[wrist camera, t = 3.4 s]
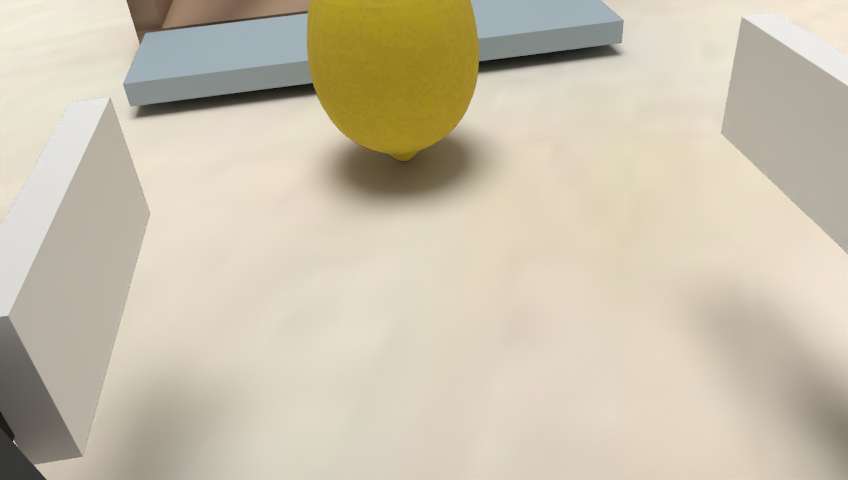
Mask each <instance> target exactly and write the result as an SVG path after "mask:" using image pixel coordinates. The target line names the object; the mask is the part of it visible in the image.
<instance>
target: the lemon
mask: <svg viewBox="0 0 848 480" xmlns="http://www.w3.org/2000/svg"><path fill="white" fill-rule="evenodd" d="M307 54H308V63H309V69H310V74H311V78H312V82H313V85H314V88H315V91H316V93H317V96H318V98H319V100H320V103H321V105H322V107H323V108H324V110H325V111H326V113H327V114H328V116H329V117H330V119H331V120H332V122H333V123H334V124H335V125H336V127H337V128H338V129H339V130H340V131H341V132H342V133H343V134H345V135H346V136H347V137H348V138H350V139H351V140H353V141H354V142H356V143H358V144H359V145H361V146H363V147H366V148H368V149H371V150H374V151H377V152H382V153H388V154H389V155H391V156H392V157H394V158H395V159H397V160H399V161H407V160H410V159H412V158H413V157H414V156H415V155H416V154H417V153H418V152H419V151H420V150H422V149H424V148H427V147H429V146H431V145H433V144H435V143H436V142H438V141H440V140H441V139H443V138H444V137H445V136H446V135H447V134H448V133H449V132H450V131H452V130H453V129H454V128H455V127H456V126H457V124H458V123H459V122H460V120H461V119H462V117H463V116H464V114H465V112H466V110H467V108H468V106H469V104H470V101H471V99H472V96H473V93H474V90H475V86H476V82H477V76H478V68H479V43H478V34H477V28H476V21H475V16H474V12H473V7H472V4H471V0H310V1H309V9H308V19H307Z"/></svg>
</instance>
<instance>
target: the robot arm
mask: <svg viewBox="0 0 848 480" xmlns="http://www.w3.org/2000/svg"><path fill="white" fill-rule="evenodd" d="M721 134H723V135H724V136H725V137H726V138H727V139H728V140H729V141H730V142H731V143H732V144H733V145H734V146H735V147H736V148H737V149H738V150H739V151H740V152H741V153H742V154H744V155H745V156H746V157H747V158H748V159H749V160H750V161H751V162H752V163H753V164H754V165H755V166H756V167H757V168H758V169H759V170H760V171H761V172H762V173H763V174H765V175H766V176H767V177H768V178H769V179H770V180H771V181H772V182H773V183H774V184H775V185H776V186H777V187H778V188H779V189H780V190H781V191H782V192H783V193H784V194H785V195H787V196H788V197H789V198H790V199H791V200H792V201H793V202H794V203H795V204H796V205H797V206H798V207H799V208H800V209H801V210H802V211H803V212H804V213H805V214H806V215H808V216H809V217H810V218H811V219H812V220H813V221H814V222H815V223H816V224H817V225H818V226H819V227H820V228H821V229H822V230H823V231H824V232H825V233H826V234H827V235H829V236H830V237H831V238H832V239H833V240H834V241H835V242H836V243H837V244H838V245H839V246H840V247H841V248H842V249H843V250H844V251H845V252H846V253H847V254H848V55H847V54H845V53H843V52H842V51H840V50H838V49H837V48H835V47H833V46H832V45H830V44H828V43H827V42H825V41H823V40H822V39H820V38H818V37H817V36H815V35H813V34H812V33H810V32H808V31H806V30H805V29H803V28H801V27H800V26H798V25H796V24H795V23H793V22H791V21H790V20H788V19H786V18H785V17H783V16H781V15H780V14H778V13H776V12H775V13H767V14H759V15H751V16H743V17H742V19H741V25H740V30H739V36H738V41H737V47H736V52H735V58H734V63H733V69H732V74H731V80H730V86H729V91H728V97H727V102H726V108H725V113H724V119H723V124H722V130H721ZM149 216H150V211H149V208H148V205H147V202H146V199H145V197H144V194H143V191H142V188H141V185H140V182H139V179H138V176H137V173H136V170H135V168H134V165H133V162H132V159H131V156H130V153H129V150H128V147H127V144H126V142H125V139H124V136H123V133H122V130H121V127H120V124H119V121H118V118H117V115H116V113H115V110H114V107H113V104H112V101H111V98H110V97H107V98H100V99H92V100H84V101H76V102H70V104H69V106H68V108H67V109H66V111H65V113H64V115H63V116H62V118H61V120H60V122H59V123H58V125H57V127H56V129H55V131H54V132H53V134H52V136H51V138H50V139H49V141H48V143H47V145H46V146H45V148H44V150H43V152H42V154H41V155H40V157H39V159H38V161H37V162H36V164H35V166H34V168H33V169H32V171H31V173H30V175H29V177H28V178H27V180H26V182H25V184H24V185H23V187H22V189H21V191H20V192H19V194H18V196H17V198H16V200H15V201H14V203H13V205H12V207H11V208H10V210H9V212H8V214H7V216H6V217H5V219H4V221H3V223H2V224H1V226H0V480H46V479H45V478H44V476H43V475H42V474H41V473H40V472H39V471H38V470H37V469H36V467H35V466H34V464H40V463H46V462H52V461H58V460H64V459H71V458H77V457H83V454H84V450H85V447H86V443H87V440H88V436H89V432H90V429H91V425H92V422H93V418H94V414H95V411H96V407H97V404H98V400H99V396H100V393H101V389H102V385H103V382H104V378H105V375H106V371H107V367H108V364H109V360H110V357H111V353H112V349H113V346H114V342H115V338H116V335H117V331H118V328H119V324H120V320H121V317H122V313H123V310H124V306H125V302H126V299H127V295H128V291H129V288H130V284H131V281H132V277H133V273H134V270H135V266H136V263H137V259H138V255H139V252H140V248H141V244H142V241H143V237H144V234H145V230H146V226H147V223H148V219H149ZM13 440H14V441H15V443H16V444H17V446H18V447H17V446H16V445H15V444H14V443H13Z"/></svg>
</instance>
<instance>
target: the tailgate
mask: <svg viewBox="0 0 848 480" xmlns="http://www.w3.org/2000/svg"><path fill="white" fill-rule="evenodd" d="M471 4H472V7H473V12H474V16H475V21H476V28H477V34H478V43H479V61H486V60H494V59H501V58H509V57H517V56H524V55H532V54H540V53H548V52H555V51H563V50H571V49H578V48H586V47H594V46H602V45H609V44H617V43H622V33H623V21H624V20H623V19H621V18H620V17H619V16H618V15H617V14H616V13H615V12H614V11H612V10H611V9H610V8H609V7H608V6H607V5H606V4H605V3H603V2H602V1H601V0H471ZM307 19H308V13H307V14H298V15H290V16H282V17H274V18H266V19H257V20H249V21H241V22H233V23H224V24H216V25H208V26H200V27H192V28H183V29H175V30H167V31H159V32H151V33H145V35H144V38H143V40H142V42H141V45H140V47H139V49H138V51H137V54H136V56H135V58H134V60H133V63H132V65H131V67H130V69H129V72H128V74H127V76H126V78H125V81H124V83H123V85H124V88H125V91H126V94H127V97H128V100H129V103H130V106H139V105H146V104H154V103H162V102H169V101H177V100H185V99H193V98H200V97H208V96H216V95H223V94H231V93H239V92H247V91H254V90H262V89H270V88H277V87H285V86H293V85H301V84H308V83H313V82H312V78H311V74H310V69H309V63H308V54H307Z"/></svg>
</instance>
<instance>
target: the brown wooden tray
mask: <svg viewBox="0 0 848 480" xmlns="http://www.w3.org/2000/svg"><path fill="white" fill-rule="evenodd" d="M309 1H310V0H127V3H128V7H129V10H130V13H131V17H132V20H133V23H134V26H135V30H136V33H137V36H138V39H139V43H140V45H141V42H142V40H143V38H144V35H145V33H151V32H159V31H167V30H175V29H183V28H192V27H200V26H208V25H216V24H224V23H233V22H241V21H249V20H257V19H266V18H274V17H282V16H290V15H298V14H307V13H308V9H309Z"/></svg>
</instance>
